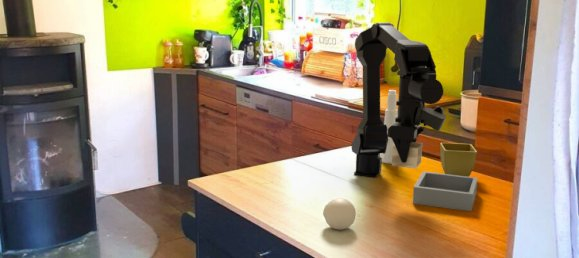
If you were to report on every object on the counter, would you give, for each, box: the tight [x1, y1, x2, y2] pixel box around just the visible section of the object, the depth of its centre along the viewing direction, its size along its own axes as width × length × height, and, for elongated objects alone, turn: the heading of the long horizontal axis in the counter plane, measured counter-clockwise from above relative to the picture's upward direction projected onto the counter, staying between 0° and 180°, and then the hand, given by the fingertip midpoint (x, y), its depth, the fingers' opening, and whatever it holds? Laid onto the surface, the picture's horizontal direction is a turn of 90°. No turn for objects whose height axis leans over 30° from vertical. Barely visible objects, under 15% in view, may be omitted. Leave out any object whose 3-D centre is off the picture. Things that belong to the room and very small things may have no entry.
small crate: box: [391, 141, 423, 169], centre depth 149 cm, size 6×6×5 cm
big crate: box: [412, 170, 478, 212], centre depth 153 cm, size 14×14×4 cm
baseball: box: [322, 198, 357, 230], centre depth 134 cm, size 7×7×7 cm
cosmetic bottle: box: [380, 89, 398, 165], centre depth 184 cm, size 6×6×22 cm
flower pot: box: [439, 142, 478, 177], centre depth 170 cm, size 9×9×9 cm
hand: (406, 159), depth 149 cm, fingers closed on small crate, 6 cm apart
